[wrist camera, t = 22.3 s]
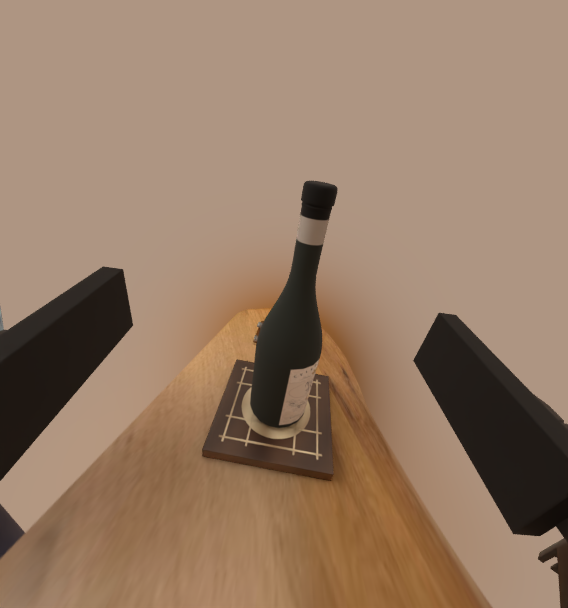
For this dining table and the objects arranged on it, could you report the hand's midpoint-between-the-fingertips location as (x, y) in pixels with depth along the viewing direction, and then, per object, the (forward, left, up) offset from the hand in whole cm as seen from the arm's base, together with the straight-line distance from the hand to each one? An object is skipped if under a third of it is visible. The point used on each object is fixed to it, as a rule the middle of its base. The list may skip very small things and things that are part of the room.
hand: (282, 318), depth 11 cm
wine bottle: (+1, +16, -26) cm, 31 cm away
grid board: (+1, +16, -28) cm, 32 cm away
